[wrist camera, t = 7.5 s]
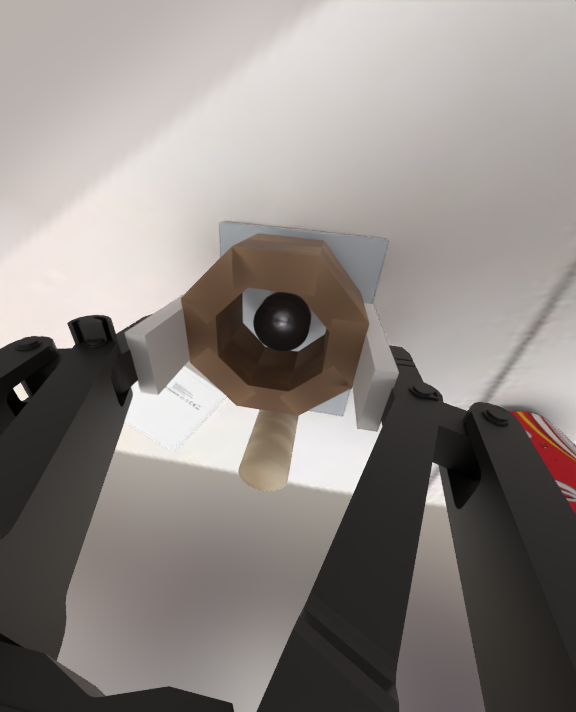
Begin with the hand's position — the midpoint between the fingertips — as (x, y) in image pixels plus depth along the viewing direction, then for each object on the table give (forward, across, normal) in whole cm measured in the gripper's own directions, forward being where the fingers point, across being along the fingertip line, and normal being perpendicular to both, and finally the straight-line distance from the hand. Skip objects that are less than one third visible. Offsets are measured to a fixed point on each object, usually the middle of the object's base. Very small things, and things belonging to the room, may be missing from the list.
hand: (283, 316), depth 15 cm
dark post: (+5, 0, 0) cm, 5 cm away
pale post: (+5, 0, +9) cm, 10 cm away
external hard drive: (+7, +12, +14) cm, 20 cm away
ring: (0, 0, 0) cm, 0 cm away
